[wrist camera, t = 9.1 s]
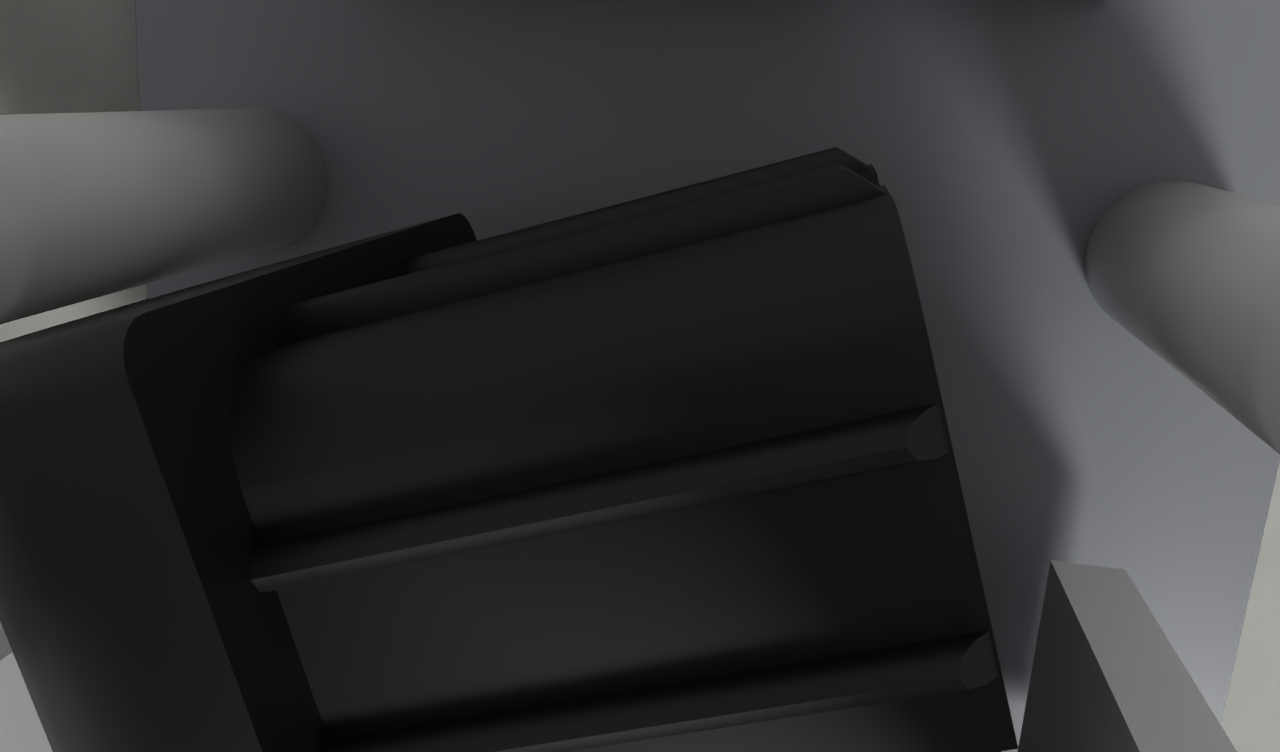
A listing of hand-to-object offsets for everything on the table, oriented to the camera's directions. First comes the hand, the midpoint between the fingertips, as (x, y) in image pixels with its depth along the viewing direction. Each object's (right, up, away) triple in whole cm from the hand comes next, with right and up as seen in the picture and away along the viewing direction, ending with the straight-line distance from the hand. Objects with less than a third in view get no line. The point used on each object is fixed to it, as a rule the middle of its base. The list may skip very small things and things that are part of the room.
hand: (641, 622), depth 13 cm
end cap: (0, 0, +1) cm, 1 cm away
